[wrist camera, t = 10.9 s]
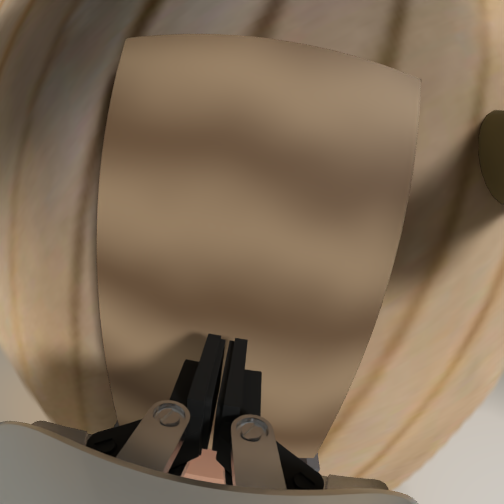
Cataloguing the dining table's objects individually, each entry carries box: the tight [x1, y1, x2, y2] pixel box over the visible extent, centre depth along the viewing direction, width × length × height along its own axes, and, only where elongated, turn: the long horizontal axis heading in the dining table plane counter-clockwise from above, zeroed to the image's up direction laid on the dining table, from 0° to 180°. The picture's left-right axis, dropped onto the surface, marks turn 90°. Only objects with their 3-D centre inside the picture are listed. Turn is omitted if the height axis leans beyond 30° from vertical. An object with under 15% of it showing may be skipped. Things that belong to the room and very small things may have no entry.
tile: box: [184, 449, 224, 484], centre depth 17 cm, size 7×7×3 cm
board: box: [97, 34, 421, 458], centre depth 13 cm, size 22×13×2 cm, turn 172°
